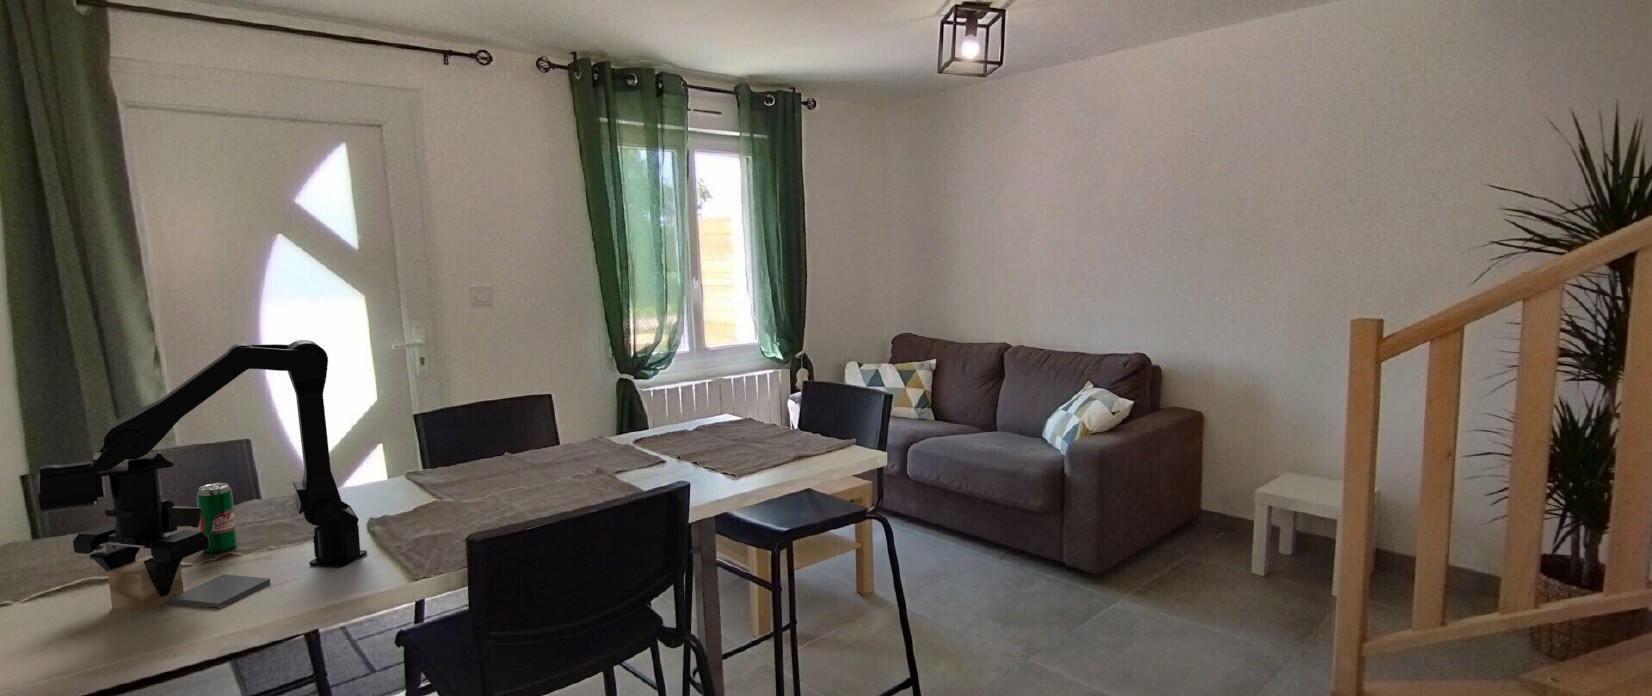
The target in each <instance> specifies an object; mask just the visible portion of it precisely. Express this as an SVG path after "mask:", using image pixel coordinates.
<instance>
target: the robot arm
mask: <svg viewBox="0 0 1652 696" xmlns="http://www.w3.org/2000/svg"><path fill="white" fill-rule="evenodd" d="M328 365H329V358H328V353H327V352H326V350H325V349H324V348H323V347H321V346H320V344H318V343H316V342H314V341H311V340H309V339H299V340H296V341H293V342H291V343H290V344H283V343H282V344H279V343H278V344H277V343H275V344H272V343H270V344H267V343H266V344H252V343H251V344H250V343H246V342H241V343H236V344H234V345H232V346H230V347H229V349H228V350H227V351H226V352H224V353H223V354H222V355H221V356H219V357H217V359H215V360H213V361H212V362H211V363H209V364H208V365H207V366H205V367H204V368H202V369H201V370H200V371H198V372H197V373H195V374H194V375H192V376H191V377H190V378H188V379H187V380H186V381H183V383H182V384H180V385H179V386H177V387H176V388H175V389H173V390H172V391H170V392H169V393H167V394H166V395H165V396H163V397H162V398H160V399H158V400H156V401H154V402H152V403H150V404H147V405H145V406H143V407H141V408H140V407H139V409H137V410H134V411H132V412H131V413H127V414H126V415H124V416H122V417H120V418H118V419H117V420H115V421H113V422H112V423H111V425H109V426H108V428H107V430H106V433H105V436H104V438H103V446H102V447H101V448H100V449H99V451H98V452H95V453H94V455H93V457H92V461H82V462H73V463H67V464H66V463H65V464H48V465H42V466H41V467H40V468H39V491H38V494H37V497H38V503H39V508H40V511H41V513H42V514H45V513H53V512H58V511H65V510H71V509H79V508H84V507H92V506H96V503H97V502H99V498H100V499H101V498H105V497H106V483H105V477H106V476H108V478H109V489H110V497H111V504H112V507H110V508H106V509H104V511H105V512H104V513H105V517H112V518H113V522H114V523H107V524H104V525H103V524H102V525H101V526H98V527H95V528H92V529H91V528H90V529H88V530H85V531H82V532H79V533H78V534H77V536H76V537H75V538H74V539H73V540H72V544H73V545H72V546H73V553H74V554H84V555H85V554H87V555H89V559H90V560H94V561H95V563H97V564H98V565H99V566H100V567H101V568H102V569H103V570H104V571H106V573H107V574H108V571H110V570H113V569H115V568H118V567H121V566H123V565H126V564H129V563H131V562H134V561H136V556H137V555H138V552H139V551H140V550H141V548H142V549H150V556H153V558H150V559H148V560H145V561H143V562H144V564H145V567H146V569H147V571H148V573H149V575H150V577H151V579H152V581H153V584H154V586H155V588H156V590H157V591H158V593H159V595H160V596H162V597H163V596H166V595H168V594H169V593H170V590H171V587H172V584H173V581H174V578H175V575H176V572H177V569H178V567H179V565H180V564H181V562H182V561H183V559H185V558H187V557H189V556H193V555H194V554H196V553H199V552H201V551H203V550H205V549H207V548H209V547H210V543H209V535H208V534H206V533H204V532H202V531H200V530H191V529H190V530H188V529H183V530H181V531H178V527H192V528H200V525H199V524H200V520H201V516H202V511H203V508H198V507H194V506H193V507H192V506H180V505H179V506H178V505H175V503H174V501H173V500H171V499H165V498H163V495H162V485H161V483H162V482H161V478H160V476H161V475H160V469H167V468H172V467H174V465H175V463H174V462H175V459H174V458H173V457H170V456H168V455H166V454H164V453H163V452H162V450H157V451H156V452H155V453H154V455H152V456H148V457H144V456H146V455H147V454H149V453H150V452H151V451H152V450H153V449H154V448H155V447H156V446H157V445H158V444H159V443H160V442H161V441H162V439H164V438H165V436H166V435H167V434H168V433H169V432H170V431H171V429H173V427H174V426H175V425H176V424H177V423H178V422H179V421H180V420H181V419H182V418H184V416H186V415H187V414H189V413H190V412H191V411H192V410H194V409H196V408H197V407H198V406H200V405H201V404H202V403H204V402H205V401H206V400H208V399H209V398H210V397H213V395H215V394H216V393H217V392H218V391H220V390H222V388H224V387H225V386H227V385H228V384H229V383H231V382H232V381H234V380H235V379H237V378H238V377H239V376H240V375H242V374H243V373H245V372H246V371H247V370H267V371H279V372H281V371H282V372H284V371H285V372H287V374H288V376H289V378H290V382H291V385H292V387H293V390H294V392H295V393H294V394H295V396H296V399H295V400H296V408H297V415H298V416H297V417H298V425H299V432H300V434H299V435H300V443H301V451H302V453H301V454H302V462H303V463H302V464H303V476H302V481H293V483H292V485H293V487H294V488H293V489H294V490H295V500H294V505H295V507H296V510H297V511H298V514H303V517H304V518H305V521H307V522H308V523H309V524H311V525H313V526H315V527H314V528H313V529H314V530H313V533H314V535H312V536H313V548H314V550H313V551H314V558H313V559H311V560H310V561H308V562H309V563H308V564H309V566H310V565H311V566H319V567H320V566H322V567H323V566H324V567H332V568H333V567H334V568H341V567H344V566H346V565H348V564H350V563H352V562H353V561H356V560H358V559H359V558H361V557H363V556H365V555H367V554H368V550H365V549H364V550H363V549H361V542H360V529H359V528H360V527H359V524H358V523H359V518H358V516H357V514H356V513H355V511H354V509H353V508H352V506H351V505H349V504H348V503H346V502H344V501H343V500H342V498H341V495H340V492H339V490H338V489H339V488H338V486H337V484H336V480H335V479H334V476H333V473H332V470H331V459H330V450H329V449H330V448H329V439H328V432H327V431H328V430H327V421H326V411H325V402H324V391H325V387H326V385H325V384H326V380H327V376H328V375H327V374H328ZM126 460H127V464H123V465H120V464H121V463H123V462H124V461H126ZM176 531H178V532H176ZM173 532H175V533H173ZM168 533H173V534H170V535H167V536H165V534H168ZM93 552H94V553H93ZM91 553H92V554H91Z"/></svg>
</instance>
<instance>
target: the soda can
mask: <svg viewBox="0 0 1652 696" xmlns="http://www.w3.org/2000/svg"><path fill="white" fill-rule="evenodd" d="M233 498H234V496H233V489H232V488H231V487H230V484H229V483H227V482H216V483H210V484H205V485H203V486H200V487H199V488H198V492H196V503H197V508H203V511H202V516H201V520H200V524H199V531H202V532H204V533H206V534H208V535H209V543H210V547H209V548H207V549H205V550H202V551H203V552H205V553H206V552H207V553H208V554H216V552H219V553H223V552H222V551H224V552H226V551H225V550H227V551H229V550H228V549H230V550H232V549H234V547H235V546H236V545H237V544H238V541H237V527H236V521H235V520H236V518H235V507H234V499H233ZM207 553H206V554H207Z"/></svg>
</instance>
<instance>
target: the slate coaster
mask: <svg viewBox="0 0 1652 696" xmlns="http://www.w3.org/2000/svg"><path fill="white" fill-rule="evenodd" d="M270 584H271V578H267V577H257V576H244V575H238V574H237V575H236V574H225V573H224V574H222V575H219V576H217V577H214V578H212V579H209V580H208V581H206V582H203V583H201V584H198V585H197V586H194V587H193V588H190V589H188V590H185V591H183V593H181V594H178V595H176V596H174V597H172V598H170V601H169V603H170V604H176V605H185V606H192V605H199V606H198V607H202V606H206V607H205V608H211V607H217V608H216V609H221V608H223V607H224V605H225V606H228V605H229V604H231V603H233V602H235V601H237V600H240V599H241V598H244V597H246V596H247V595H250V594H252V593H253V592H255V591H257V590H259V589H262V588H263V587H266V586H268V585H270ZM222 606H223V607H222ZM220 607H221V608H220Z"/></svg>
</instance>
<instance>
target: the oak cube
mask: <svg viewBox="0 0 1652 696" xmlns="http://www.w3.org/2000/svg"><path fill="white" fill-rule="evenodd" d="M150 558H153V556H152V555H147V556H145V557H142V558H140V559H137V560H136V561H134V562H131V563H129V564H126V565H123V566H121V567H118V568H115V569H113V570H110V571H108V573H107V575H108V584H109V593H110V602H111V609H114V610H115V609H116V610H124V611H125V610H126V611H135V612H142V611H144V612H143V613H145V612H148V611H149V610H152V609H154V608H156V607H158V606H161V605H163V604H165V603H168V602H170V598H172V597H174V596H176V595H178V594H181V593H183V592H184V584H183V583H184V582H183V577H182V566H181V565H182V564H181V563H180V565H179V567H178V569H177V572H176V575H175V578H174V581H173V584H172V587H171V590H170V593H169V594H168V595H166V596H163V597H162V596H160V595H159V593H158V591H157V590H156V588H155V586H154V584H153V581H152V579H151V577H150V575H149V573H148V571H147V569H146V567H145V564H144V562H143V561H145V560H148V559H150Z"/></svg>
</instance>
